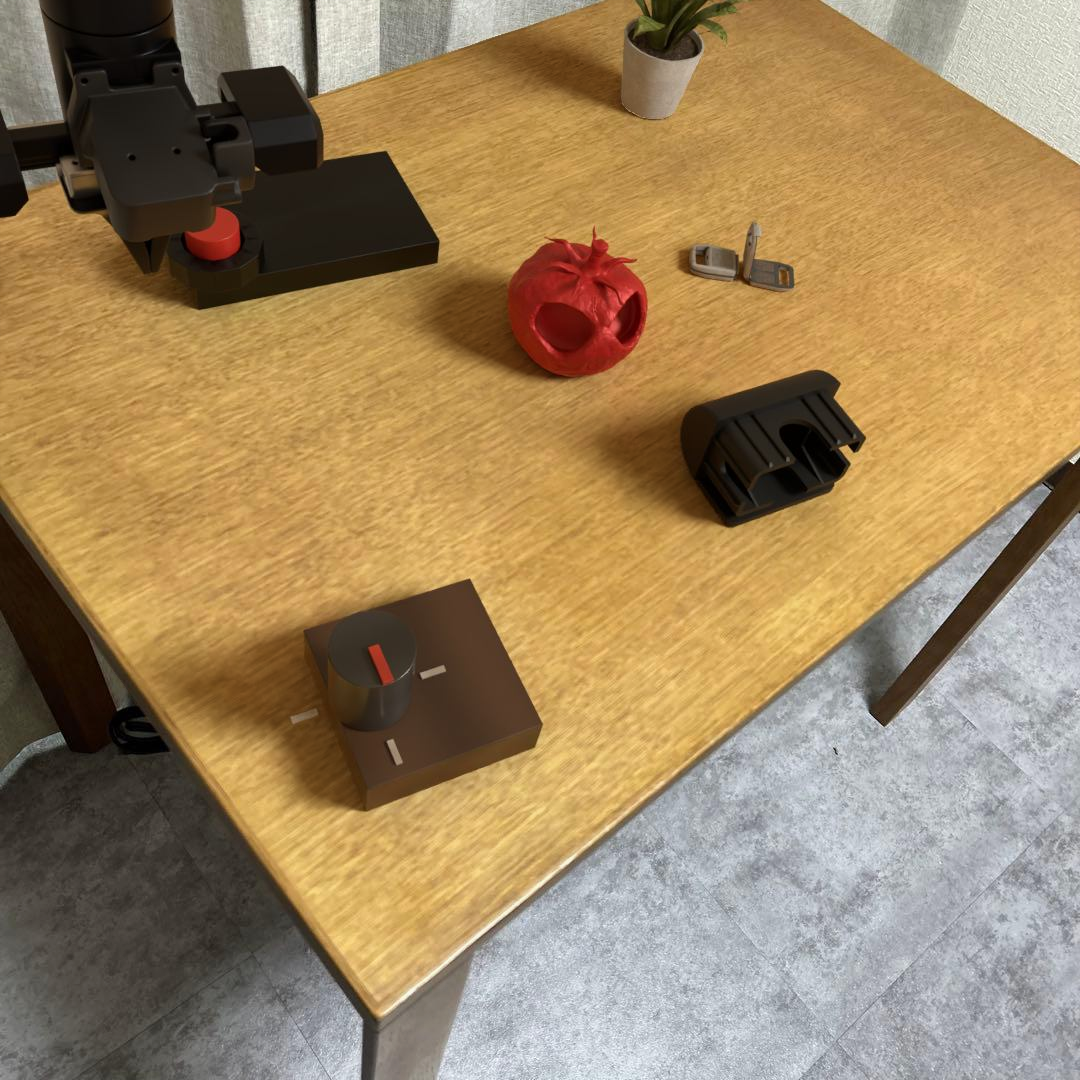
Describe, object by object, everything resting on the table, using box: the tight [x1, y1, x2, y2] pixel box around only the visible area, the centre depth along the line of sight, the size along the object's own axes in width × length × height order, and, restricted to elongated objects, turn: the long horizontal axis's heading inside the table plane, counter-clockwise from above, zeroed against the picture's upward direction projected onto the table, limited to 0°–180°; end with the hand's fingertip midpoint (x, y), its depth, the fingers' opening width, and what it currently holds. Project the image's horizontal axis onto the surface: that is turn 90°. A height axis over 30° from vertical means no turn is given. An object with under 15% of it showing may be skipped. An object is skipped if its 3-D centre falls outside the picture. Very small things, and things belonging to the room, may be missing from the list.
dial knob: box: [327, 609, 417, 731], centre depth 57 cm, size 4×4×5 cm
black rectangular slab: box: [163, 150, 441, 311], centre depth 81 cm, size 19×12×4 cm, turn 115°
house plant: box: [620, 0, 755, 119], centre depth 93 cm, size 14×14×16 cm
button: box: [185, 207, 241, 261], centre depth 75 cm, size 4×4×2 cm
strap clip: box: [688, 221, 796, 292], centre depth 87 cm, size 8×3×4 cm, turn 85°
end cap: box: [679, 369, 867, 528], centre depth 74 cm, size 10×7×7 cm
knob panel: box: [289, 577, 544, 812], centre depth 61 cm, size 12×10×3 cm
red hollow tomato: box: [506, 225, 649, 378], centre depth 77 cm, size 10×10×9 cm
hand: (149, 269), depth 63 cm, fingers closed
